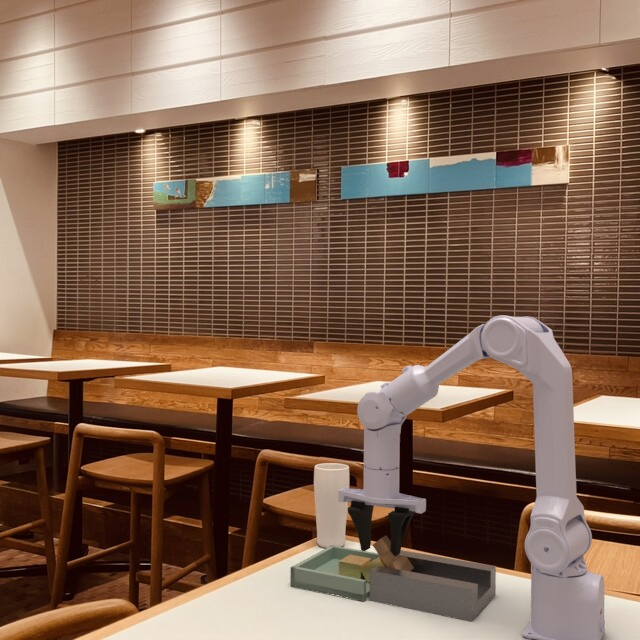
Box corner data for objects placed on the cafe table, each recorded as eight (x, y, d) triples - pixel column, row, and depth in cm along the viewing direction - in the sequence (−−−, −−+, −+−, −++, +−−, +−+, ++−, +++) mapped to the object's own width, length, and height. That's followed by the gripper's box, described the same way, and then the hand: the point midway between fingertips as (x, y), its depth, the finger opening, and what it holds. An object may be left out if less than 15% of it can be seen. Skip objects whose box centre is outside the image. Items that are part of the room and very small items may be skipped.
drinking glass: (345, 551, 137) (346, 470, 137) (309, 549, 138) (310, 468, 139) (351, 541, 144) (352, 463, 144) (317, 538, 145) (318, 462, 145)
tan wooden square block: (371, 573, 122) (371, 558, 122) (360, 580, 118) (360, 565, 118) (349, 569, 124) (350, 554, 124) (338, 576, 120) (338, 561, 120)
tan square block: (397, 565, 119) (389, 551, 120) (386, 572, 116) (378, 558, 117) (378, 575, 121) (370, 561, 122) (367, 583, 117) (359, 568, 118)
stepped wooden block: (414, 567, 118) (390, 533, 120) (401, 577, 114) (377, 540, 116) (405, 574, 119) (381, 539, 121) (392, 583, 114) (368, 547, 116)
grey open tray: (495, 595, 116) (495, 566, 116) (471, 621, 105) (472, 589, 105) (400, 577, 123) (400, 550, 123) (369, 600, 113) (369, 570, 113)
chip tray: (399, 574, 124) (400, 557, 124) (363, 601, 112) (363, 581, 112) (331, 562, 131) (331, 545, 131) (290, 586, 119) (290, 567, 119)
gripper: (433, 467, 119) (432, 552, 119) (352, 458, 126) (351, 538, 126) (416, 475, 112) (415, 564, 112) (332, 465, 120) (331, 549, 119)
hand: (380, 551), depth 119 cm, fingers open, 5 cm apart
